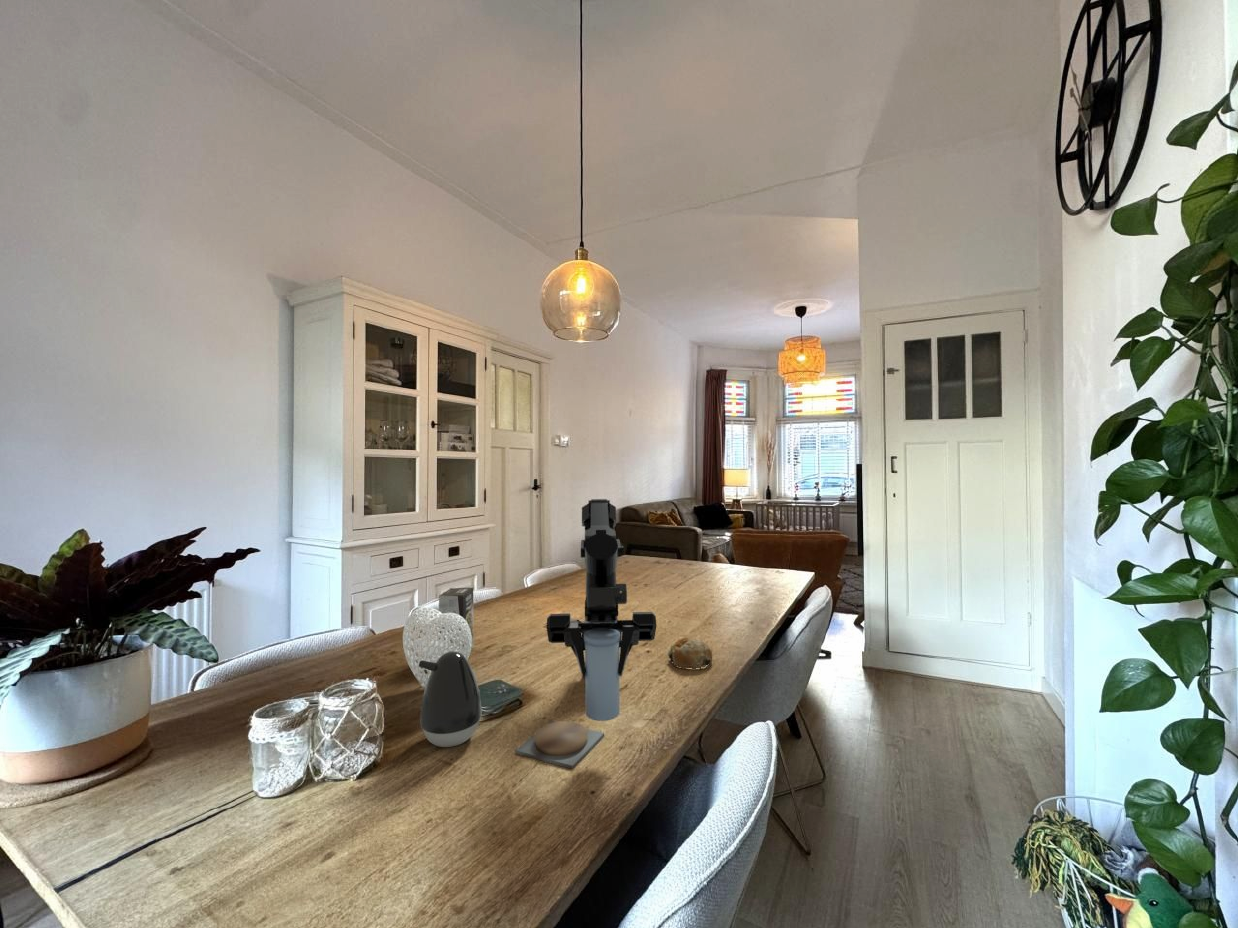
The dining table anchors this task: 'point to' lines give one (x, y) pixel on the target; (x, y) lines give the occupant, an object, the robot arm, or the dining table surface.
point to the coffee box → (458, 607)
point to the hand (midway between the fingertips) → (602, 675)
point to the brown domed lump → (690, 653)
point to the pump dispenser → (450, 701)
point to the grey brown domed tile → (560, 743)
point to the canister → (602, 673)
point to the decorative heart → (435, 646)
